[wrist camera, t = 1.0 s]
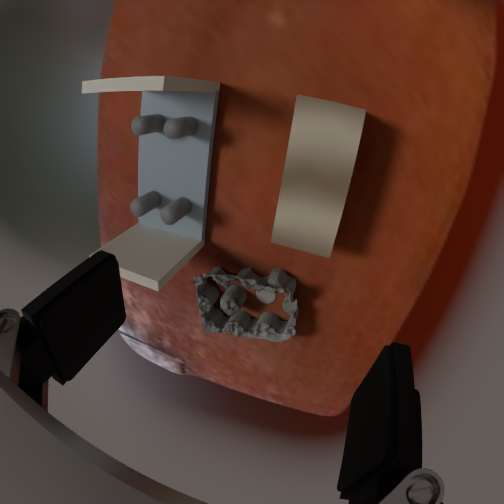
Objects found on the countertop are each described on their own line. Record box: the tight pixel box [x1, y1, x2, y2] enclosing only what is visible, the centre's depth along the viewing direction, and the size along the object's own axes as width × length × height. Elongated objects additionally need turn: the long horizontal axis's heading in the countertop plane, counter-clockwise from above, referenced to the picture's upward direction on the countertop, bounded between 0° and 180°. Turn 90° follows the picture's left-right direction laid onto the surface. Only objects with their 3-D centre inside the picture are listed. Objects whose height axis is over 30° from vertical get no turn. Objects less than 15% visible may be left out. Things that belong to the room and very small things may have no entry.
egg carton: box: [193, 267, 298, 342], centre depth 31 cm, size 11×8×4 cm
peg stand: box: [82, 76, 220, 291], centre depth 25 cm, size 17×8×9 cm, turn 172°
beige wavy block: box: [271, 95, 366, 258], centre depth 23 cm, size 12×5×4 cm, turn 172°
